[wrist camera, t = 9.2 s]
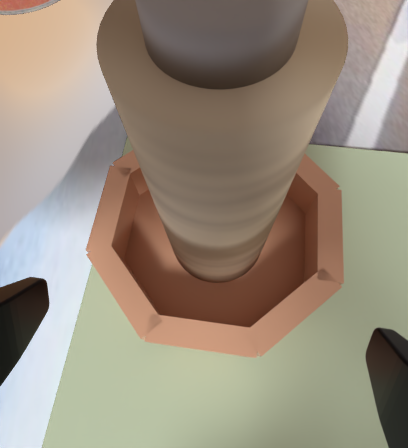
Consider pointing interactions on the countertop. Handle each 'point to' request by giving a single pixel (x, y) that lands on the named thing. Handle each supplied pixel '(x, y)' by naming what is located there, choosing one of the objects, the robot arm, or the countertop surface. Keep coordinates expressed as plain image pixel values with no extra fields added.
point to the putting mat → (260, 366)
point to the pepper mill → (220, 112)
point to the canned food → (23, 6)
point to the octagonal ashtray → (227, 291)
